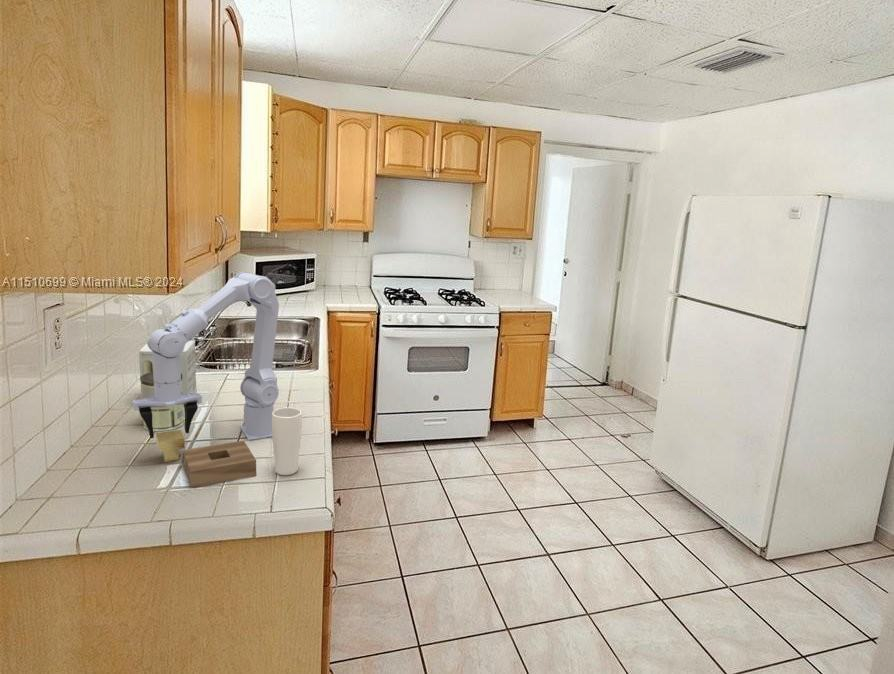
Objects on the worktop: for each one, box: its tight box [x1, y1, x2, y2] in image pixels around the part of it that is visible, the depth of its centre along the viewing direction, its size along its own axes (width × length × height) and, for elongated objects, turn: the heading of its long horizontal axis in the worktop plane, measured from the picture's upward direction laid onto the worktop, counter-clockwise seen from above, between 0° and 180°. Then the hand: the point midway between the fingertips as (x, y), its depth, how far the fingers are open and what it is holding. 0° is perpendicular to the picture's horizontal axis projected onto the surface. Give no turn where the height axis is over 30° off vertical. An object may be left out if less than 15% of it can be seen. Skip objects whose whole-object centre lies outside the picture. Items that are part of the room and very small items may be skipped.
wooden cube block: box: [155, 429, 186, 463], centre depth 137 cm, size 6×6×6 cm
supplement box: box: [138, 340, 198, 407], centre depth 173 cm, size 13×13×18 cm
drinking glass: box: [271, 406, 303, 476], centre depth 134 cm, size 7×7×15 cm
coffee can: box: [139, 372, 185, 432], centre depth 155 cm, size 10×10×14 cm
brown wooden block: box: [181, 440, 257, 489], centre depth 133 cm, size 12×14×4 cm
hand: (169, 434), depth 136 cm, fingers open, 7 cm apart
